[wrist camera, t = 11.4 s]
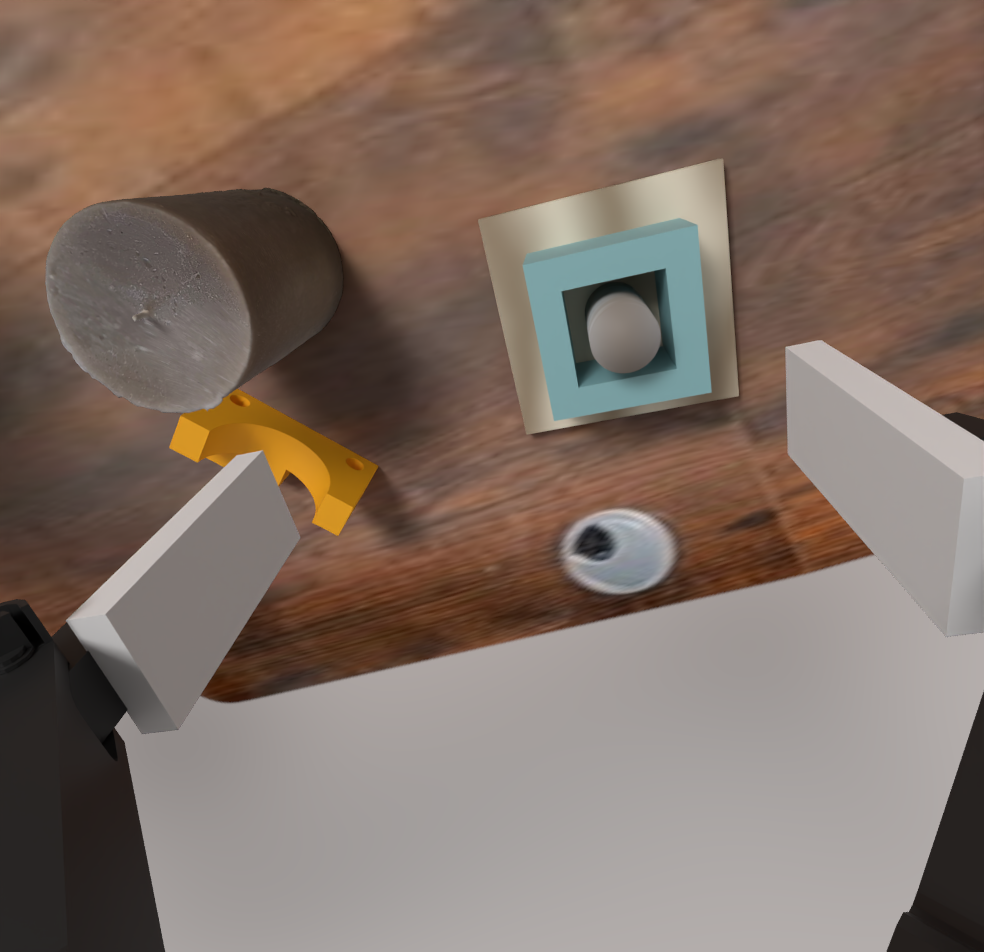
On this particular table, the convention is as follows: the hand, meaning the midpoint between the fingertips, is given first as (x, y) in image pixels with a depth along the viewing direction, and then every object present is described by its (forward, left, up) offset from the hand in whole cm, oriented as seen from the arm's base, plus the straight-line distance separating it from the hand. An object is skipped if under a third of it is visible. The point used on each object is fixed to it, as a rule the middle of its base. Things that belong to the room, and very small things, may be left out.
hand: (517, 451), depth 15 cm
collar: (+4, -3, -25) cm, 26 cm away
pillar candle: (-17, +4, -26) cm, 32 cm away
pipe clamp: (-20, -8, -27) cm, 34 cm away
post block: (+4, -3, -26) cm, 27 cm away
